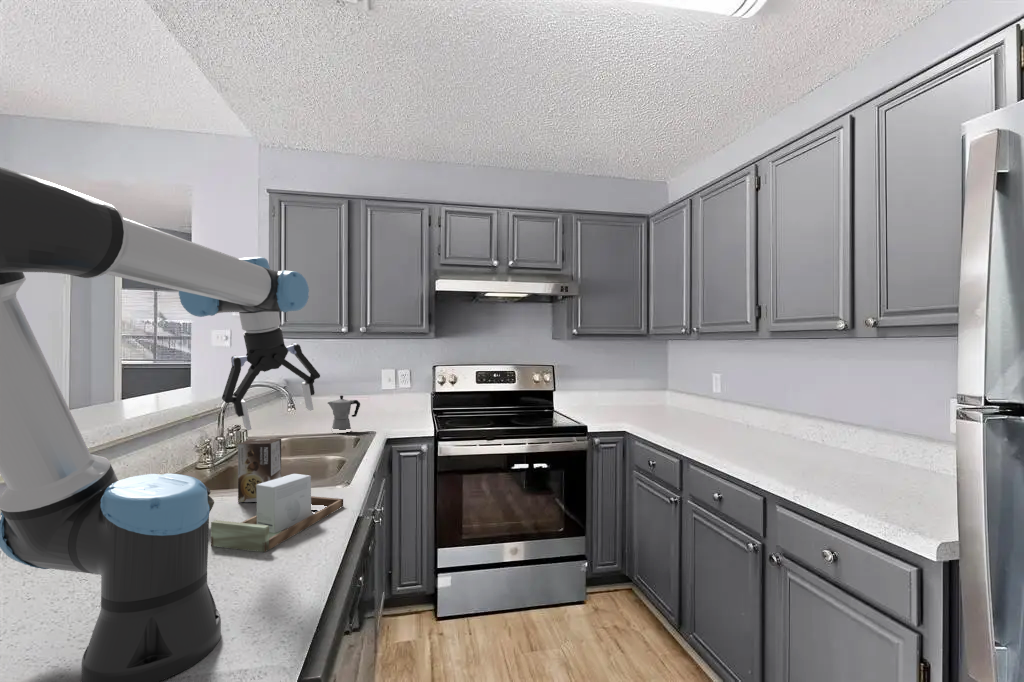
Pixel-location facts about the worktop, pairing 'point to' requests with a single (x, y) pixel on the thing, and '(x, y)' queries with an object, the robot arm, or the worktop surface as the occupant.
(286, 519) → the skincare box
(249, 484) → the coffee box
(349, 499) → the worktop surface
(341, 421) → the coffeepot
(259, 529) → the track
